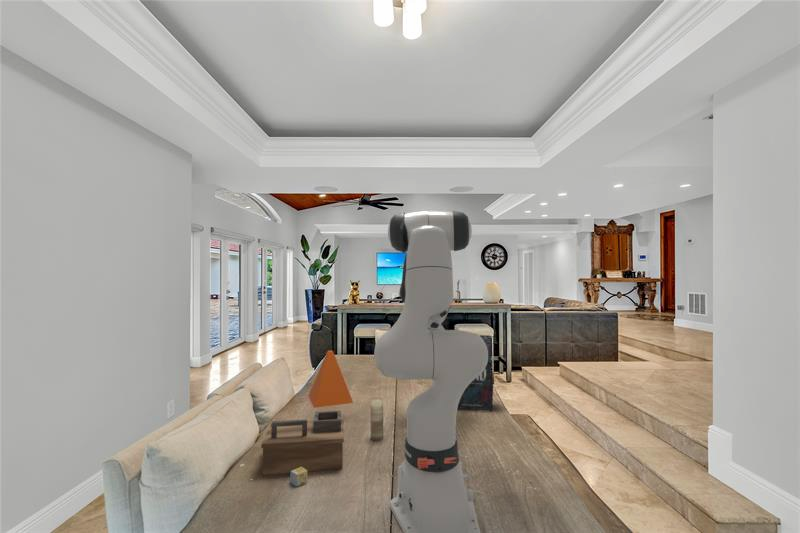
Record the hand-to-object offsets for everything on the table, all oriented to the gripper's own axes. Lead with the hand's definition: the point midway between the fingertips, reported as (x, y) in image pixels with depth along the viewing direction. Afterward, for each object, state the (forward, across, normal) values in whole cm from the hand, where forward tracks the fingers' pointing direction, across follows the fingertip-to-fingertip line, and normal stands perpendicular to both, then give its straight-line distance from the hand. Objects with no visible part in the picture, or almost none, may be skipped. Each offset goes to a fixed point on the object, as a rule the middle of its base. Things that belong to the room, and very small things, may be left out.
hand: (408, 360), depth 127 cm
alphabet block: (+47, 0, -14) cm, 49 cm away
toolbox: (+41, -8, -9) cm, 43 cm away
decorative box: (-7, +5, +38) cm, 39 cm away
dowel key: (+25, -3, +7) cm, 26 cm away
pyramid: (+15, -44, +16) cm, 49 cm away
